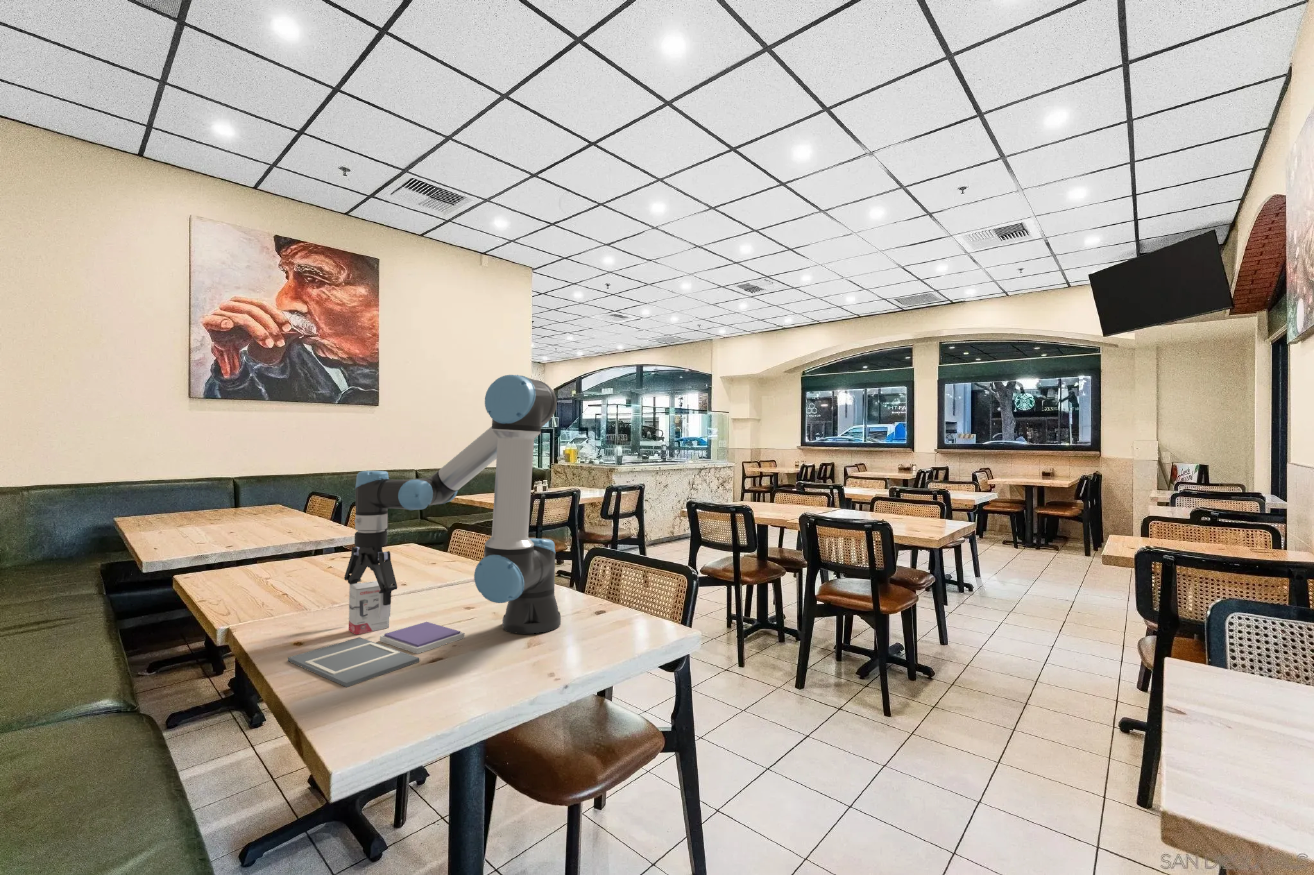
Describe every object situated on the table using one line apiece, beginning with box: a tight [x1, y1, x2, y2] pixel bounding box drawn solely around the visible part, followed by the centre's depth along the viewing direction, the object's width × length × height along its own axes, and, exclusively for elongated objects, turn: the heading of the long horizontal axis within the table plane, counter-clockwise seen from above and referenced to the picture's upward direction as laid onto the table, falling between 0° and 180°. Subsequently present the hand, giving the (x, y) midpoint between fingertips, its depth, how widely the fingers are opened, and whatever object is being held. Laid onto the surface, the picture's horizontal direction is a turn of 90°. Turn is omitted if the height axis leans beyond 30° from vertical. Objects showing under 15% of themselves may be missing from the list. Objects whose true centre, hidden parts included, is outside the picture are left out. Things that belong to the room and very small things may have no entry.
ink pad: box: [379, 621, 466, 655], centre depth 139 cm, size 15×13×2 cm
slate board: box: [287, 636, 420, 688], centre depth 125 cm, size 24×16×1 cm, turn 57°
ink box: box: [348, 580, 390, 635], centre depth 146 cm, size 9×5×12 cm, turn 137°
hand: (369, 612), depth 146 cm, fingers open, 13 cm apart
